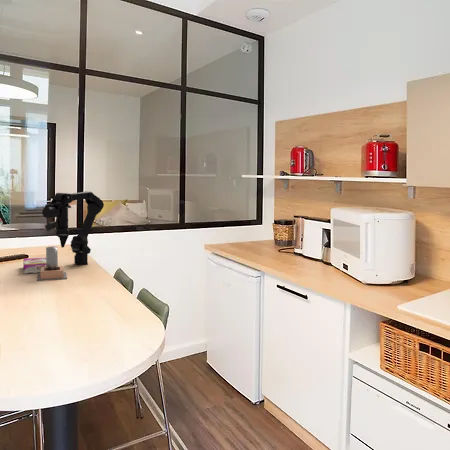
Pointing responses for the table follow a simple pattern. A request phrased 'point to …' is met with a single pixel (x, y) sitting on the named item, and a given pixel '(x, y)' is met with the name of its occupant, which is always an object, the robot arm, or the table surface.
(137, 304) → the table surface
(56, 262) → the metal pin
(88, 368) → the table surface
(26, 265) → the candy bar box
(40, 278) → the terracotta socket
